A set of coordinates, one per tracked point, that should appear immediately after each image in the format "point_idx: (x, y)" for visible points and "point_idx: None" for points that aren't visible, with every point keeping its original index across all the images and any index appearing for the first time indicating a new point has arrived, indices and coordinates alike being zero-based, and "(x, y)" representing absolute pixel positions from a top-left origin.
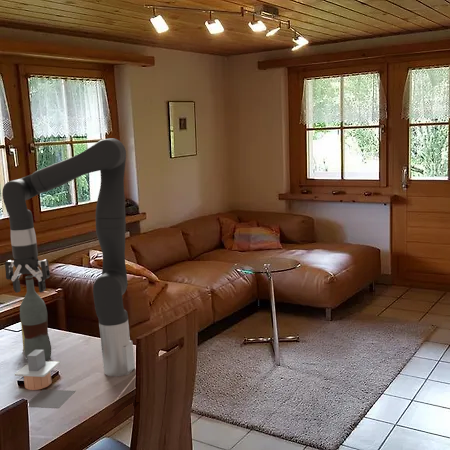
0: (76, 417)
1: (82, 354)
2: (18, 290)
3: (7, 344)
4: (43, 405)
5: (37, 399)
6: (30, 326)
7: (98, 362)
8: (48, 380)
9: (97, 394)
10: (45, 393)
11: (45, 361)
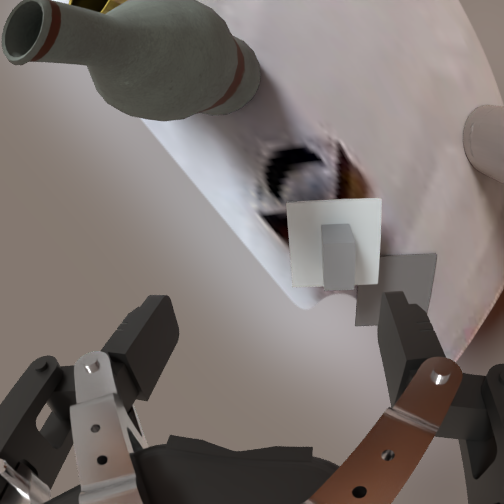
0: (459, 334)
1: (342, 26)
2: (171, 326)
3: None
4: None
5: (370, 299)
6: (200, 111)
7: (421, 80)
8: None
9: (478, 257)
10: None
11: (335, 202)
